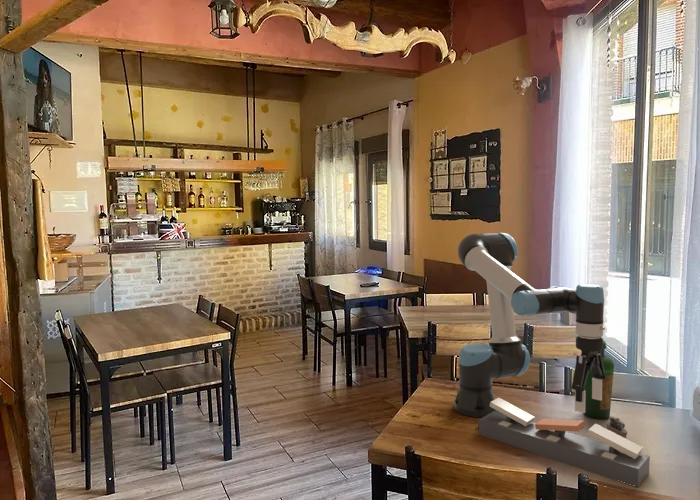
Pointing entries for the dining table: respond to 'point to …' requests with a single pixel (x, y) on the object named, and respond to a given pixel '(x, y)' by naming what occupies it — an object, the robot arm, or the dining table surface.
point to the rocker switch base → (566, 448)
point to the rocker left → (512, 411)
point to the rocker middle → (560, 425)
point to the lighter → (616, 426)
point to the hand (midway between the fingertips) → (588, 405)
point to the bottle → (602, 407)
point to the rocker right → (615, 441)
